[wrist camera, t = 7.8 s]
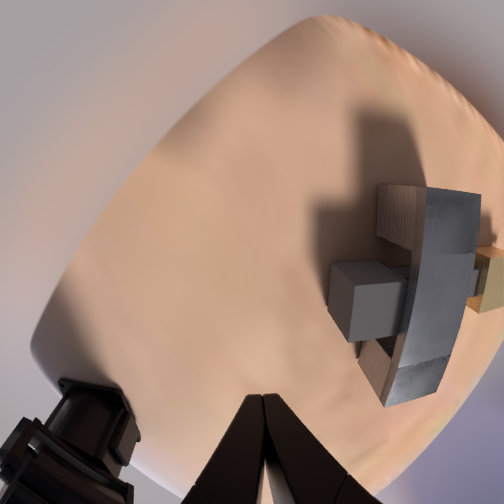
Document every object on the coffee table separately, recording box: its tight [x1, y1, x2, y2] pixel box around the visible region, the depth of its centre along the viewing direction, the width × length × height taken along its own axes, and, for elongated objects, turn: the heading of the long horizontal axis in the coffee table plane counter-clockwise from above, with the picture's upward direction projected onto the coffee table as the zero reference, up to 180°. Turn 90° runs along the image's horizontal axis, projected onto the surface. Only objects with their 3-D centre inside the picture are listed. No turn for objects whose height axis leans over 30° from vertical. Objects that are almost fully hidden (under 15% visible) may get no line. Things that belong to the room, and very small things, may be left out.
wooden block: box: [466, 246, 504, 314], centre depth 15 cm, size 5×4×3 cm
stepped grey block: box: [327, 260, 480, 343], centre depth 14 cm, size 11×3×4 cm, turn 92°
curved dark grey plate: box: [358, 184, 481, 408], centre depth 14 cm, size 4×12×5 cm, turn 1°
